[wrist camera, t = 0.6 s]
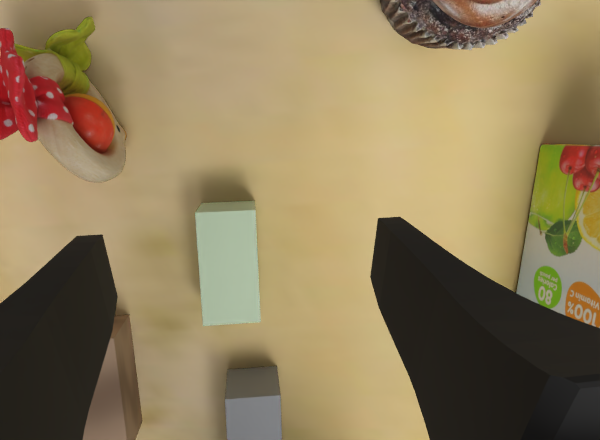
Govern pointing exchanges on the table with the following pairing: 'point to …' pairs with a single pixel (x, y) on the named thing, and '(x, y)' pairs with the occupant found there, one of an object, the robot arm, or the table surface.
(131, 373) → the walnut brick
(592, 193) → the snack box
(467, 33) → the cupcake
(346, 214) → the table surface
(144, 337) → the table surface
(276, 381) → the gray brick
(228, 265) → the sage brick
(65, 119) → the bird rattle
